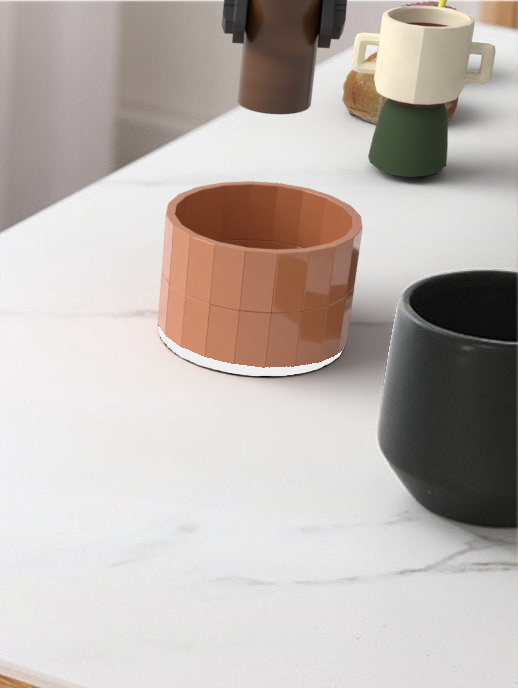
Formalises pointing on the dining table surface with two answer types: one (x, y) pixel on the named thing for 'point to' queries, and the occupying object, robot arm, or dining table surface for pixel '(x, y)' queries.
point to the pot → (259, 273)
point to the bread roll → (371, 96)
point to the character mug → (419, 83)
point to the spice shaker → (279, 55)
